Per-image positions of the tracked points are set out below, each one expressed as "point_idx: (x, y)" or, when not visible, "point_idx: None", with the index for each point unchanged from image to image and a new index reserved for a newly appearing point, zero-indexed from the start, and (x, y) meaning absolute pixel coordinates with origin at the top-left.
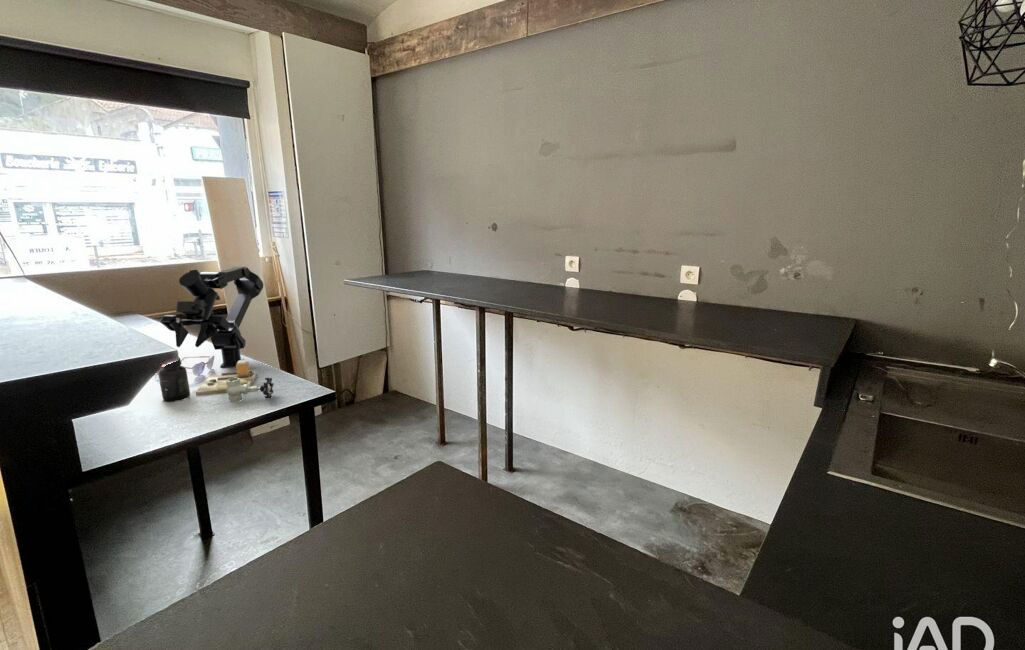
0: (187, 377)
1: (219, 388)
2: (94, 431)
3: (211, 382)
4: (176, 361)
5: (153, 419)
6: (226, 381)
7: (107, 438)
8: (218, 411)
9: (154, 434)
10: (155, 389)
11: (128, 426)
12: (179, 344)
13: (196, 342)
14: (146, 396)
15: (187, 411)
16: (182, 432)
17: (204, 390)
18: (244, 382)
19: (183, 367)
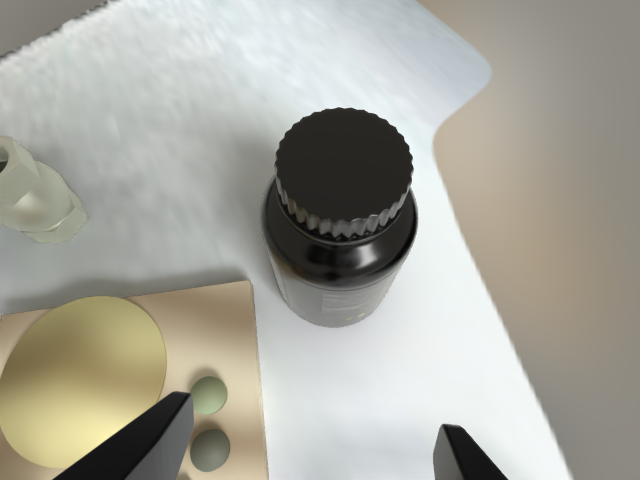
0: (270, 260)
1: (136, 305)
2: (434, 38)
3: (201, 397)
4: (285, 143)
5: (307, 89)
6: (23, 160)
7: (364, 3)
8: (108, 123)
9: (249, 9)
10: (521, 413)
11: (356, 55)
12: (442, 470)
13: (158, 416)
14: (491, 308)
15: (221, 134)
16: (177, 12)
17: (212, 298)
18: (12, 391)
19: (272, 222)
